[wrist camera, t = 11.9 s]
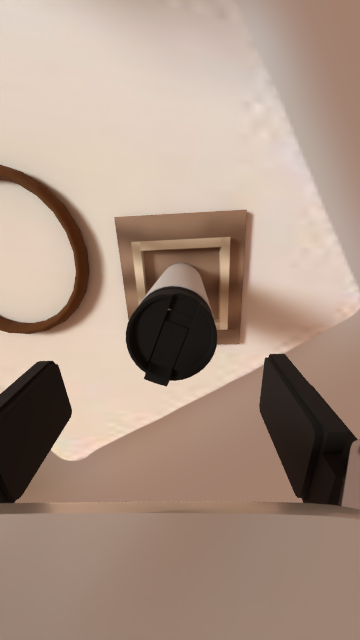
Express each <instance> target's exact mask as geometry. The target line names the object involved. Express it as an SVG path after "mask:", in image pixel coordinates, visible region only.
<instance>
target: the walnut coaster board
mask: <svg viewBox="0 0 360 640" xmlns="http://www.w3.org/2000/svg"><path fill="white" fill-rule="evenodd" d="M246 211H247V210H234V211H216V212H199V213H181V214H163V215H146V216H128V217H114V218H115V225H116V232H117V239H118V247H119V254H120V261H121V268H122V275H123V282H124V290H125V297H126V304H127V311H128V318H129V320H130V318H131V316H132V314H133V313H134V311H135V310H136V309H137V307H138V306H139V304H140V302H141V301H142V300H143V298H144V297H145V296H146V294H147V293H148V292H149V291H150V289H151V288H152V287H153V285H154V284H155V283H156V282H157V280H158V279H159V278H160V276H161V275H162V274H163V273H164V271H165V270H166V269H167V268H168V267H170V266H171V265H173V264H176V263H186V264H189V265H191V266H193V267H194V268H195V269H196V270H197V271H198V272H199V274H200V276H201V279H202V282H203V285H204V288H205V291H206V294H207V297H208V301H209V304H210V307H211V310H212V313H213V316H214V322H215V325H216V328H217V344H239V339H240V321H241V303H242V285H243V266H244V248H245V230H246Z"/></svg>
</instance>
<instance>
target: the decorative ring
mask: <svg viewBox="0 0 360 640" xmlns="http://www.w3.org/2000/svg"><path fill="white" fill-rule="evenodd" d="M0 178H2V179H5V180H8V181H11V182H14V183H17V184H19V185H21V186H22V187H24V188H25V189H27V190H29V191H30V192H32V193H33V194H35V195H37V196H38V197H39V198H40V199H41V200H42V201H43V202H44V203H45V204H46V205H47V206H48V207H49V208H50V209H51V210H52V211H53V212H54V214H55V216H56V217H57V219H58V220H59V222H60V223H61V225H62V226H63V228H64V229H65V231H66V233H67V236H68V238H69V241H70V244H71V247H72V249H73V252H74V259H75V267H76V277H75V284H74V290H73V292H72V294H71V297H70V299H69V301H68V303H67V305H66V306H65V307H64V308H63V309H62V310H61V311H60V312H59V313H58V314H57V315H55V316H53V317H51V318H49V319H48V320H46V321H41V322H36V323H18V322H14V321H11V320H8V319H4V318H1V317H0V330H1V331H5V332H8V333H23V334H31V333H36V332H41V331H46V330H49V329H51V328H53V327H55V326H57V325H59V324H61V323H62V322H64V321H66V320H67V319H68V318H69V317H70V316H71V314H72V313H73V312H74V311H75V310H76V309H77V308H78V307H79V305H80V303H81V301H82V298H83V296H84V294H85V292H86V288H87V282H88V276H89V265H88V255H87V249H86V247H85V244H84V241H83V238H82V235H81V232H80V229H79V228H78V226H77V225H76V223H75V221H74V220H73V218H72V217H71V215H70V213H69V212H68V210H67V209H66V207H65V206H64V205H63V204H62V203H61V202H60V201H59V200H58V199H57V198H56V197H55V196H54V195H53V194H52V193H51V192H50V191H49V190H48V189H47V188H46V187H45V186H43V185H41V184H40V183H38V182H37V181H35V180H34V179H32V178H31V177H29V176H28V175H26V174H24V173H23V172H20V171H17V170H14V169H12V168H9V167H6V166H3V165H0Z"/></svg>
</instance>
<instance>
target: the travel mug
mask: <svg viewBox="0 0 360 640" xmlns="http://www.w3.org/2000/svg"><path fill="white" fill-rule="evenodd" d="M126 344H127V348H128V351H129V354H130V356H131V358H132V359H133V361H134V362H135V364H136V365H137V366H138V367H139V368H140V369H141V370H143V371H144V372H145V373H146V374H145V377H144V379H146V380H148V381H151V382H154V383H157V384H160V385H164V386H167V385H168V383H169V380H173V381H176V380H183V379H186V378H189V377H191V376H193V375H195V374H197V373H198V372H200V371H201V370H202V369H203V368H205V366H206V365H207V364H208V363H209V362H210V360H211V358H212V357H213V355H214V352H215V349H216V346H217V328H216V325H215V322H214V316H213V313H212V310H211V307H210V304H209V301H208V297H207V294H206V291H205V288H204V285H203V282H202V279H201V276H200V274H199V272H198V271H197V270H196V269H195V268H194V267H193V266H191V265H189V264H186V263H176V264H173V265H171V266H170V267H168V268H167V269H166V270H165V271H164V273H163V274H162V275H161V276H160V278H159V279H158V280H157V282H156V283H155V284H154V285H153V287H152V288H151V289H150V291H149V292H148V293H147V294H146V296H145V297H144V298H143V300H142V301H141V302H140V304H139V306H138V307H137V309H136V310H135V311H134V313H133V314H132V316H131V318H130V320H129V322H128V325H127V330H126Z"/></svg>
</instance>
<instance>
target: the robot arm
mask: <svg viewBox="0 0 360 640" xmlns="http://www.w3.org/2000/svg"><path fill="white" fill-rule="evenodd" d="M260 413H261V415H262V418H263V420H264V422H265V425H266V427H267V429H268V432H269V434H270V436H271V439H272V441H273V443H274V446H275V448H276V451H277V453H278V455H279V458H280V460H281V462H282V465H283V467H284V469H285V472H286V474H287V476H288V479H289V481H290V484H291V486H292V488H293V491H294V493H295V495H296V496H297V497H298V498H302V500H303V503H284V502H74V503H73V502H70V503H69V502H65V503H14V502H15V501H16V500H17V499H19V498H20V497H21V496H22V494H23V493H24V491H25V490H26V488H27V487H28V485H29V483H30V482H31V480H32V478H33V477H34V475H35V474H36V472H37V470H38V469H39V467H40V465H41V464H42V462H43V461H44V459H45V458H46V456H47V454H48V453H49V451H50V450H51V448H52V446H53V445H54V443H55V442H56V440H57V438H58V437H59V435H60V434H61V432H62V430H63V429H64V427H65V425H66V424H67V422H68V421H69V419H70V417H71V414H72V409H71V405H70V402H69V399H68V396H67V392H66V389H65V386H64V382H63V379H62V376H61V373H60V369H59V366H58V365H57V364H55V363H54V362H53V361H39V362H37V363H36V364H34V365H33V366H32V367H31V368H30V369H29V370H28V371H26V372H25V373H24V374H23V375H22V376H21V377H19V378H18V379H17V380H16V381H15V382H14V383H13V384H11V385H10V386H9V387H8V388H7V389H6V390H5V391H3V392H2V393H1V394H0V640H360V439H357V438H356V437H355V436H354V435H353V434H352V432H351V431H350V430H349V429H348V428H347V426H346V425H345V424H344V423H343V422H342V420H341V419H340V418H339V417H338V416H337V415H336V413H335V412H334V411H333V410H332V409H331V408H330V406H329V405H328V404H327V403H326V401H325V400H324V399H323V398H322V397H321V396H320V394H319V393H318V392H317V391H316V390H315V388H314V387H313V386H312V385H310V384H309V383H308V381H307V380H306V379H305V378H304V377H303V375H302V374H301V373H300V372H299V371H298V370H297V368H296V367H295V366H294V365H293V364H292V362H291V361H290V360H289V359H288V357H287V356H286V355H285V354H270V355H269V358H265V361H264V371H263V379H262V388H261V396H260Z"/></svg>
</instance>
